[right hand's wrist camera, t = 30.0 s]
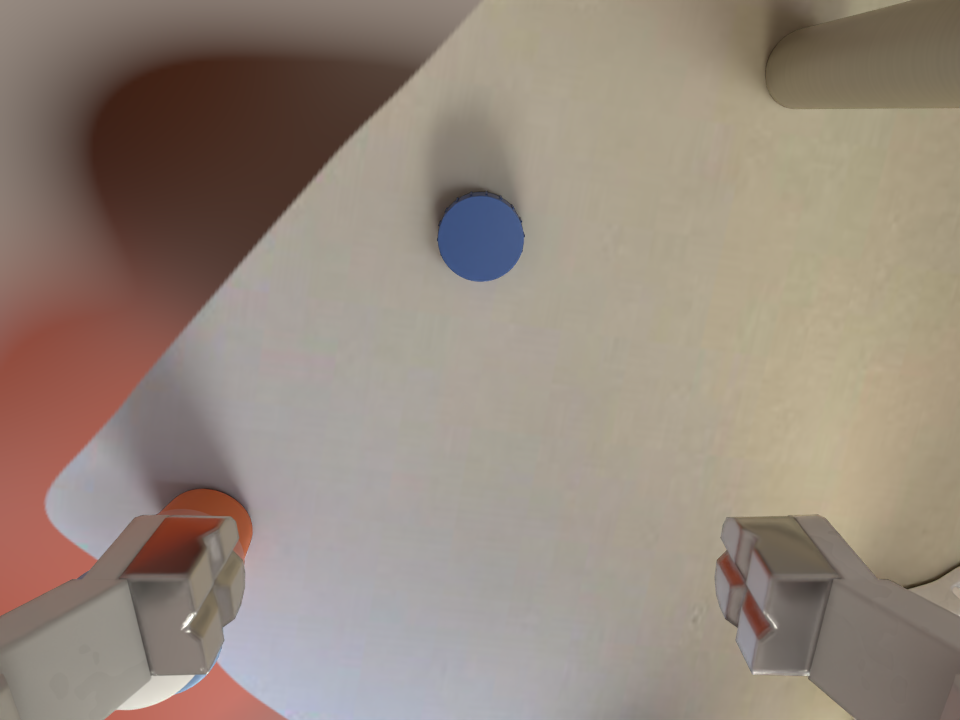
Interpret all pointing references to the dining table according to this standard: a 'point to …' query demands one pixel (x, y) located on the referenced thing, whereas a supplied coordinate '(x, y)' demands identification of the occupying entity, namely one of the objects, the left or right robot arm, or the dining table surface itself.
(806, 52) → the silver metal cylinder
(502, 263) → the lid
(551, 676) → the dining table surface
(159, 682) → the cup with straw
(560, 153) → the dining table surface
